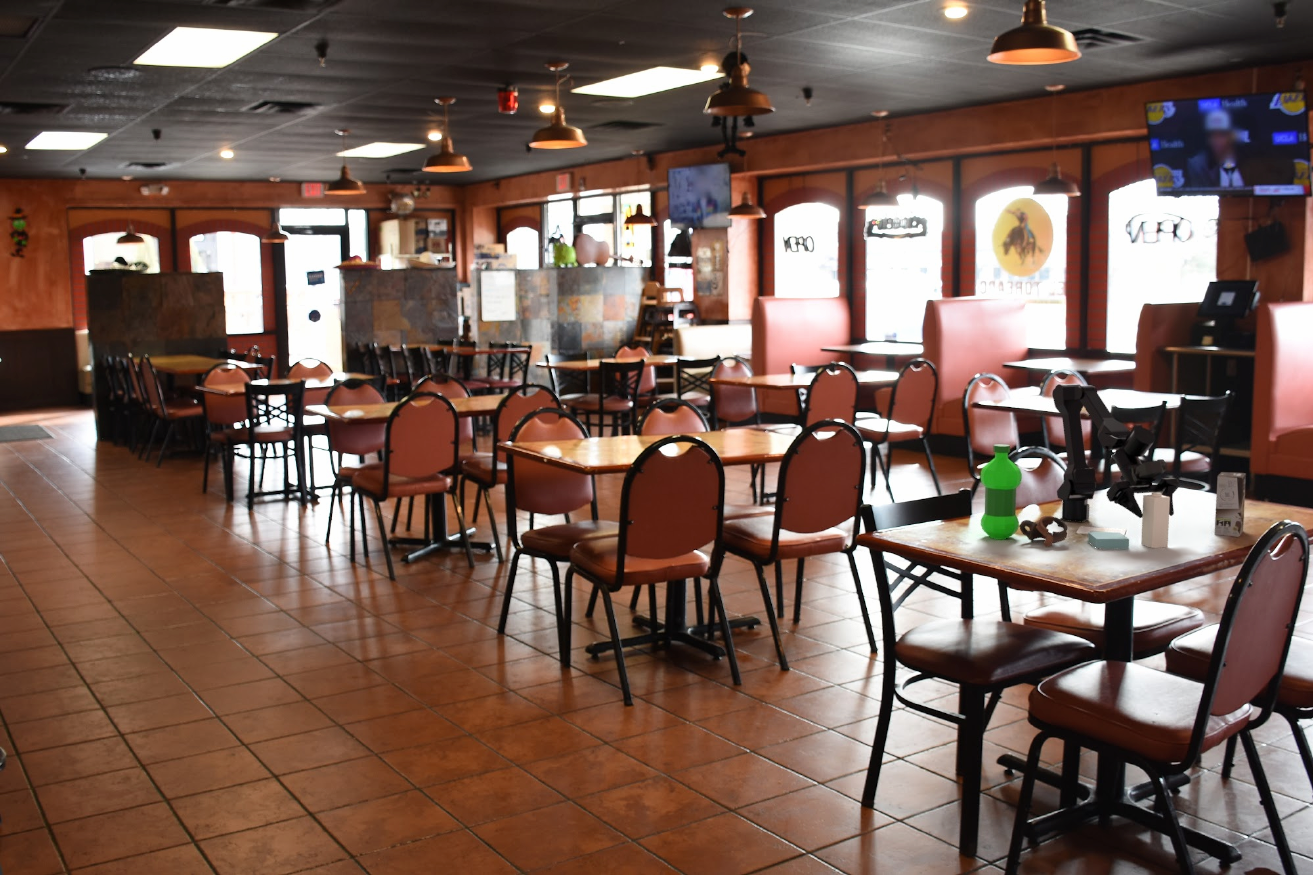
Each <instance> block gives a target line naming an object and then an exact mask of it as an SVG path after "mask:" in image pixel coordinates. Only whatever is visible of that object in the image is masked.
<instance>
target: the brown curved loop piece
mask: <svg viewBox="0 0 1313 875" xmlns="http://www.w3.org/2000/svg"><path fill="white" fill-rule="evenodd" d="M1054 523H1055V524H1056V525H1057V526H1058V528H1062V529H1063V530H1062V531H1052V532H1050V531H1049V530H1050V529H1049V528H1048V527H1049V526H1050V525H1051V526H1052V525H1053V524H1054ZM1026 527H1028V529H1029V530H1028V529H1026ZM1018 528H1019V530H1020V532H1021V534H1022V535H1023V536H1026V537H1027V539H1028V541H1031V540H1033V541H1034V540H1035V539H1043V540H1044V539H1045V540H1044V541H1043V546H1045V547H1047V548H1050V547H1051V546H1052V544H1057V543H1060V542H1062V541H1065V540H1066V538H1067V537H1068V526H1067V523H1066V522H1065V521H1063V520H1060V518H1058V517H1056V516H1051V515H1044V516H1042V517H1040V518H1039V519H1038V520H1036V521H1035V522H1034V521H1031V520H1029V519H1025V520H1022V521H1021V522H1020V523H1019V527H1018Z"/></svg>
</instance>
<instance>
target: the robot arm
mask: <svg viewBox="0 0 1313 875" xmlns="http://www.w3.org/2000/svg"><path fill="white" fill-rule="evenodd" d="M1051 395H1052V399H1053V403H1054V408H1056V410H1057V411H1058V413H1059V414H1060V415H1061V418H1062V419H1061V420H1062V428H1063V434H1064V443H1065V451H1066V459H1067V466H1066V468H1065V470H1064V473H1063V482H1062V484H1060V486H1059V487H1058V489H1057V490H1056V495H1057V496H1056V497H1057V499H1059V500H1062V504H1061V505H1062V509H1061V518H1059V519H1060V520H1062V521H1063V522H1072V523H1075V522H1076V523H1084V522H1086V521H1088V520H1089V519H1090V504H1089V502H1088V500H1093V499H1094V495H1095V493H1096V488H1097V483H1098V481H1097V478H1096V470H1095V468H1094V467H1090V466H1089V465H1088V463H1087V458H1086V450H1085V443H1084V433H1083V428H1082V418H1081V412H1082V411H1083V410H1082V409H1083V408H1084V409H1085V411H1086V413H1087V414H1088V415H1089V418H1090V419H1091V420H1092V422H1093V423H1094V424H1095V426H1096V428H1097V431H1098V432H1097V439H1098V440H1099V443H1100V445H1101V447H1102V448H1103V450H1106V451H1115V452H1114V453H1112V454H1111V457H1110V459H1109V464H1110V465H1117V468H1118V469H1119V470H1118V471H1119V472H1120V473H1121V476H1120V477H1119V479H1120V480H1116V481H1114V482H1113V483H1112V485H1111V486H1110V487H1109V488H1108V490H1107V491H1106V498H1107V499H1108V501H1109V502H1110V503H1111V502H1113V503H1114V504H1118V505H1119V506H1121V507H1122V508H1124V509H1126V510H1127V511H1129V512H1131V513H1132V514H1133V515H1135V516H1136V517H1138V518H1139V519H1142V517H1143V510H1142V509H1141V507H1140V505H1139V504H1138V501H1137V499H1136V498H1135V494H1148V493H1150V494H1152V493H1153V492H1157V493H1162V495H1163V496H1167V497H1170V505H1169V517H1173V515H1174V514H1175V510H1174V501H1173V499H1174V498H1173V494H1175V492H1176V491H1177V490H1178V489H1179V488H1180V486H1181V484H1180V482H1179V480H1178V478H1175V477H1164V478H1163V477H1162V478H1161V479H1160V480H1159V481H1158V483H1156V484H1153V482H1155V481H1156V480H1157V476H1159V475H1163V474H1164V472H1167V470H1168V465H1167V462H1166V461H1165V460H1164V459H1157V460H1154V461H1145V462H1143V463H1142V461H1141V459H1140V458H1141V457H1144V456H1145V454H1146V453H1147V452H1148V450H1149V449H1150V448H1151V447H1152V446H1153V444H1154V443H1155V441H1156V436H1155V434H1154V432H1152V431H1150V430H1149V429H1147V428H1145V427H1143V425H1142V424H1134V425H1133V427H1132V428H1131V430H1130V429H1129V428H1128V427H1127V426H1126V425H1125V424H1123V422H1120V421H1119V420H1116V419H1115V417H1114V415H1112V414H1111V412H1110V410H1109V409H1108V408H1107V406H1106V404H1105V402H1104V401H1103V400H1102V398H1101V397H1100V395H1099V393H1098V389H1097V387H1096V386H1093V385H1089V384H1088V385H1081V384H1080V383H1065V384H1064V383H1062V384H1061V383H1060V384H1056V386H1055V387H1054V388H1053V390H1052V394H1051Z"/></svg>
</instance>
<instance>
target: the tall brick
mask: <svg viewBox="0 0 1313 875" xmlns="http://www.w3.org/2000/svg"><path fill="white" fill-rule="evenodd" d="M1142 496H1143V497H1142V514H1143V517H1142V518H1141V519H1142V520H1141V542H1140V543H1141V544H1142V546H1144V545H1145V546H1144V547H1148V548H1150V547H1151V549H1155V548H1156V549H1157V548H1158V549H1159V548H1160V549H1161V548H1168V545H1169V526H1170V525H1169V524H1170V523H1169V522H1170V515H1169V505H1170V497H1167V496H1163V495H1162V493H1157V492H1152V493H1151V494H1144V495H1142ZM1141 544H1140V545H1141Z"/></svg>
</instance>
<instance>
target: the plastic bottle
mask: <svg viewBox="0 0 1313 875" xmlns="http://www.w3.org/2000/svg"><path fill="white" fill-rule="evenodd" d="M992 449H993V453H995V455H994V458H993V459H991V460H990V461H989V462H988V463H987V464H986V465H984V466H983V467H982V469H981V470H980V483H981V484H982V485H983V486H984V487H985V488H984V513H983V514H982V516H981V520H980V526H981V528H982V531H983V532H984V533H985V534H986V535H987V536H989V538H990V539H993V538H994V540H1007V539H1006V538H1008V539H1010V537H1012V536H1013V535H1014V534H1015V533H1016V532H1017V531H1018V529H1019V528H1020V527H1019V525H1020V521H1019V519H1018V516H1017V515H1016V510H1017V507H1016V505H1017V503H1016V502H1017V487H1019V486H1020V485H1021V482H1022V479H1023V478H1022V476H1023V475H1022V472H1021V468H1019V466H1017V465H1016V464H1015V463H1014V462H1013V461H1011V460H1010V459H1009V456H1008V455H1009V453H1010V452H1011V445H1010V444H1005V443H1004V444H1003V443H1000V444H999V443H997V444H993V448H992Z"/></svg>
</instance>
